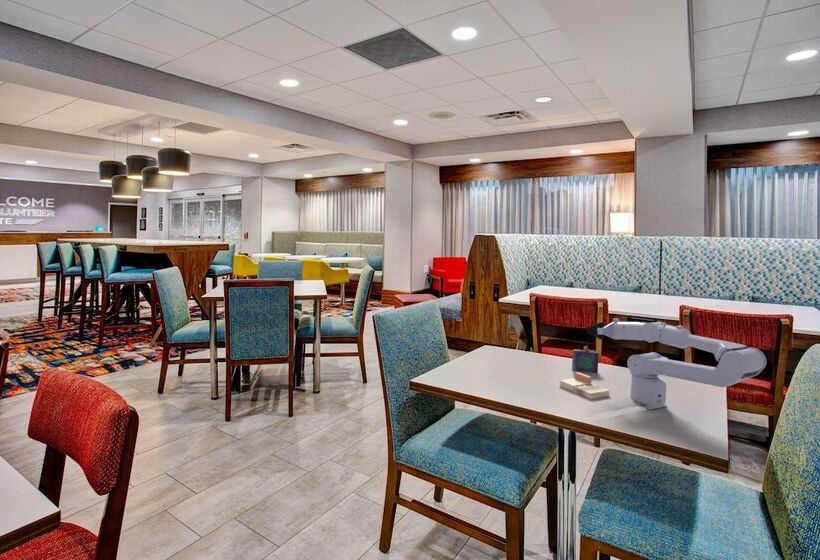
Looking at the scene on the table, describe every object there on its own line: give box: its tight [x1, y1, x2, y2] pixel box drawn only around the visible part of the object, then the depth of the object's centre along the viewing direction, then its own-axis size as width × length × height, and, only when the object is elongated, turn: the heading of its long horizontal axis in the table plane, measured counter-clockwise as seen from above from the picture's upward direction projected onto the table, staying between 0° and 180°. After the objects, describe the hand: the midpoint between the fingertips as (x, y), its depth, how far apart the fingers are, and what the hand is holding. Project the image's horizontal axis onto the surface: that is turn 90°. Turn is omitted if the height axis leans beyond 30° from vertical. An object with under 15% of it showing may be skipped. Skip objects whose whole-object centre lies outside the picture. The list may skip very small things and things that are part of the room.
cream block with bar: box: [559, 371, 593, 393], centre depth 154 cm, size 6×8×4 cm
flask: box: [571, 345, 599, 374], centre depth 173 cm, size 9×3×11 cm, turn 65°
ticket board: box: [573, 383, 610, 400], centre depth 149 cm, size 16×20×3 cm
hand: (595, 329), depth 160 cm, fingers open, 7 cm apart
